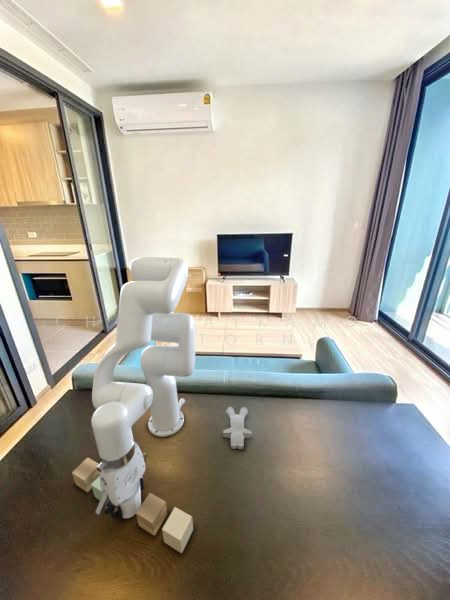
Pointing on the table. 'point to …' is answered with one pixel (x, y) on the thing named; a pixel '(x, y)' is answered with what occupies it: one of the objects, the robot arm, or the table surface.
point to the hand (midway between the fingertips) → (128, 500)
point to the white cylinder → (131, 502)
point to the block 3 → (151, 513)
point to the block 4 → (177, 529)
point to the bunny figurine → (237, 428)
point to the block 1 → (86, 474)
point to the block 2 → (97, 488)
